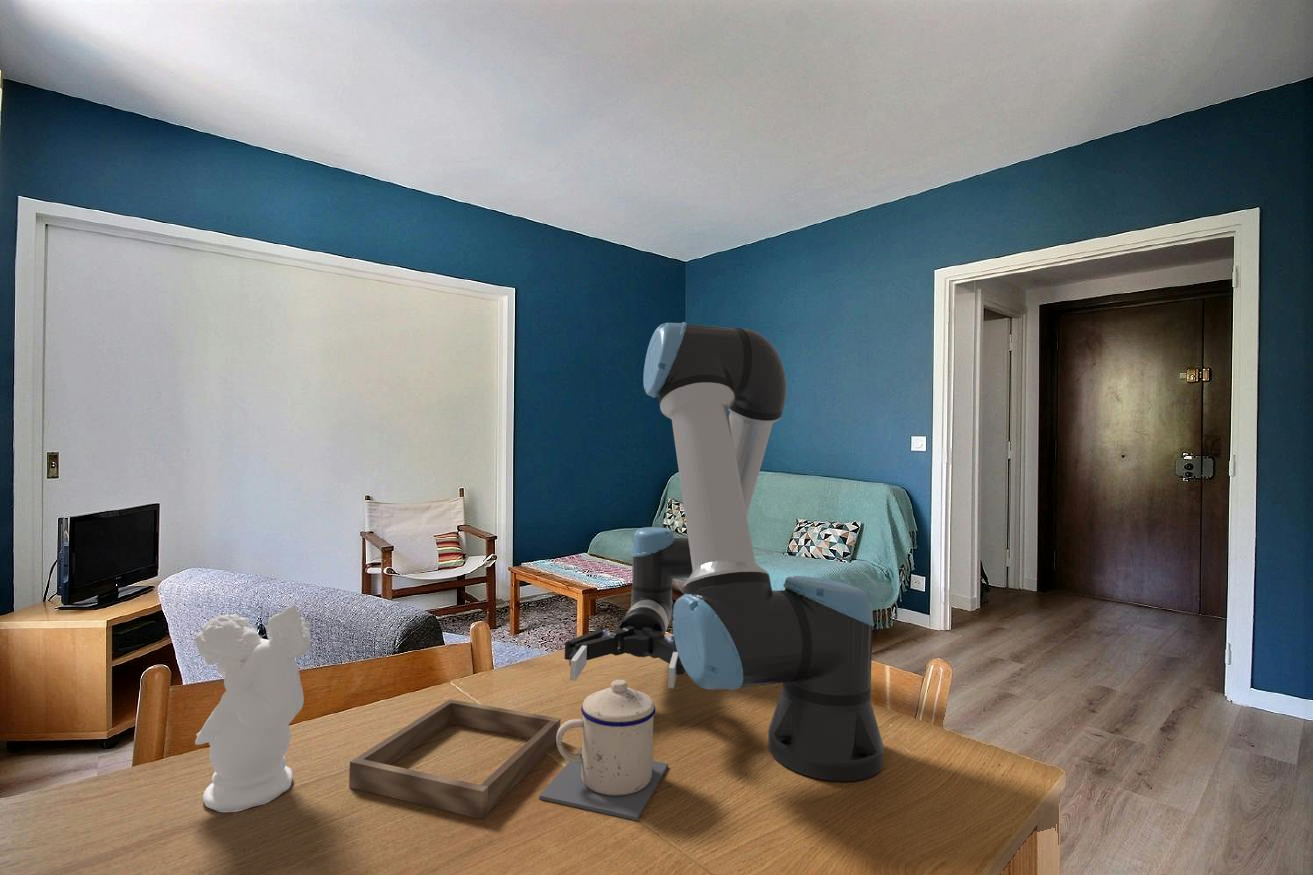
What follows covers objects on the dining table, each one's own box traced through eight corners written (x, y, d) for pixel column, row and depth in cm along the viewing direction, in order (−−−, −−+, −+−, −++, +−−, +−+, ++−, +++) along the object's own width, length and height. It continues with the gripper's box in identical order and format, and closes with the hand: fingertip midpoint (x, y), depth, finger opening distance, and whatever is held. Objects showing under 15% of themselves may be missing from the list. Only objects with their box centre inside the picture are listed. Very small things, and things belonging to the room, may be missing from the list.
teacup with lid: (645, 755, 81) (648, 666, 81) (660, 794, 72) (663, 694, 72) (553, 763, 78) (556, 671, 79) (557, 804, 70) (560, 700, 70)
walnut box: (559, 740, 85) (560, 718, 85) (482, 818, 67) (482, 791, 67) (448, 719, 91) (449, 699, 91) (349, 787, 73) (349, 761, 73)
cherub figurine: (174, 805, 68) (178, 606, 69) (267, 751, 80) (270, 582, 81) (266, 821, 66) (270, 614, 66) (348, 763, 78) (351, 588, 78)
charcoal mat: (667, 766, 79) (667, 763, 79) (637, 820, 68) (637, 816, 68) (581, 750, 83) (582, 747, 83) (539, 798, 71) (539, 795, 71)
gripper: (716, 655, 104) (712, 709, 83) (571, 645, 107) (532, 694, 86) (717, 610, 104) (714, 653, 83) (573, 601, 107) (533, 640, 86)
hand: (621, 674), depth 84 cm, fingers open, 13 cm apart
